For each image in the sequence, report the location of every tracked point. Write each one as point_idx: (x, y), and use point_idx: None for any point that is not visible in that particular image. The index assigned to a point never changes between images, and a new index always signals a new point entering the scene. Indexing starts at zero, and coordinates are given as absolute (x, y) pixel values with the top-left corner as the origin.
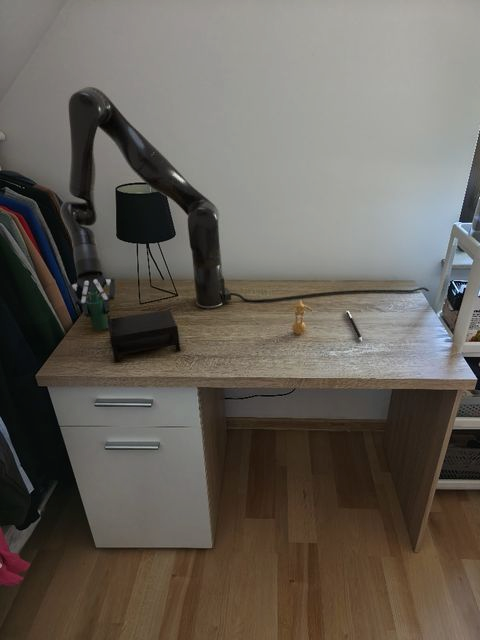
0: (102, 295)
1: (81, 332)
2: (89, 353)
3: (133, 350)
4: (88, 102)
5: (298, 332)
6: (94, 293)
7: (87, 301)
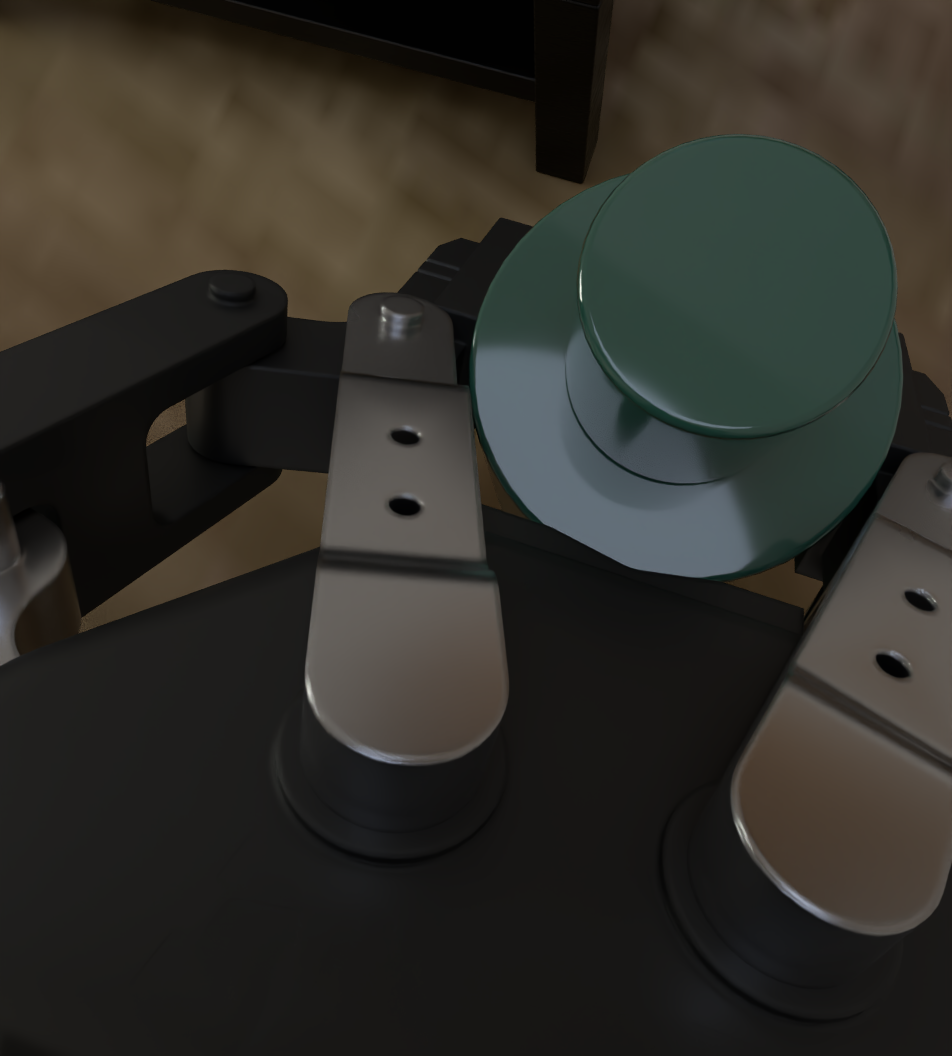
0: (438, 370)
1: None
2: (918, 48)
3: None
4: None
5: None
6: (713, 151)
7: (866, 397)
